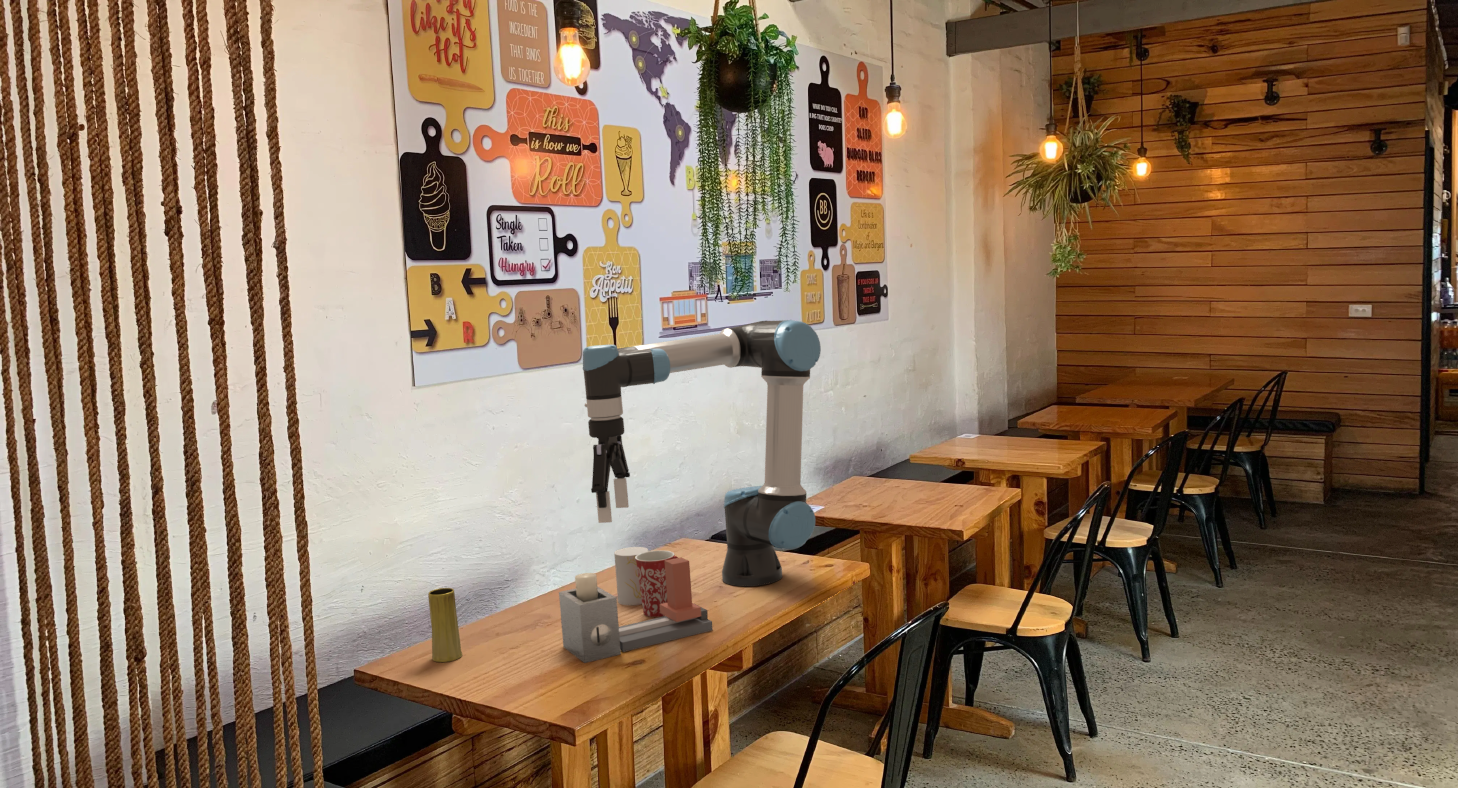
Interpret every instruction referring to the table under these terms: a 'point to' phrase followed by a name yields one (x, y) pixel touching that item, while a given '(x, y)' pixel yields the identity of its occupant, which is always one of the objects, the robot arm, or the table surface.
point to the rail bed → (661, 631)
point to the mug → (653, 580)
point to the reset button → (586, 587)
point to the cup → (628, 575)
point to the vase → (444, 625)
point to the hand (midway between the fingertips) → (614, 514)
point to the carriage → (679, 591)
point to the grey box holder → (590, 625)
